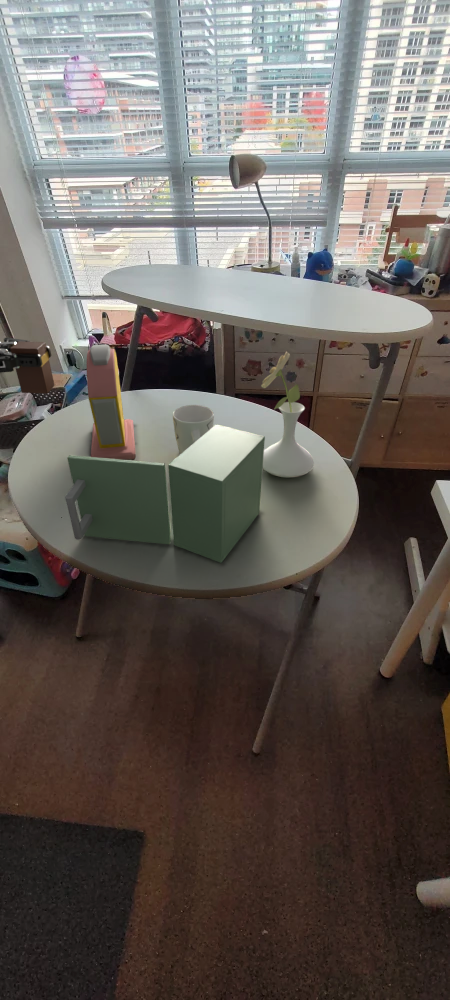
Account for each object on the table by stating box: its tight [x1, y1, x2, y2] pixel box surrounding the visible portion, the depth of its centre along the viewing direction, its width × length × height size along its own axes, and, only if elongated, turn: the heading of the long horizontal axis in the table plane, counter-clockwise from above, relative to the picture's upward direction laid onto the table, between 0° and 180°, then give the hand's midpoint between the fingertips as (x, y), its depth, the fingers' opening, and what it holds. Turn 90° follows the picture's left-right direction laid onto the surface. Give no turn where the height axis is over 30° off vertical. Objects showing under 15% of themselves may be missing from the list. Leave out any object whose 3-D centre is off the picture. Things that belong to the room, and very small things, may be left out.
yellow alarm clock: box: [86, 344, 137, 460], centre depth 97 cm, size 22×9×22 cm, turn 11°
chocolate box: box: [10, 341, 56, 394], centre depth 86 cm, size 5×4×8 cm
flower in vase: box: [261, 350, 315, 478], centre depth 88 cm, size 13×11×25 cm
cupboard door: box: [64, 454, 172, 546], centre depth 70 cm, size 6×15×16 cm, turn 82°
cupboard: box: [167, 424, 266, 564], centre depth 75 cm, size 9×15×16 cm, turn 152°
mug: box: [172, 404, 215, 455], centre depth 95 cm, size 11×8×10 cm
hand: (45, 356), depth 84 cm, fingers closed on chocolate box, 4 cm apart
